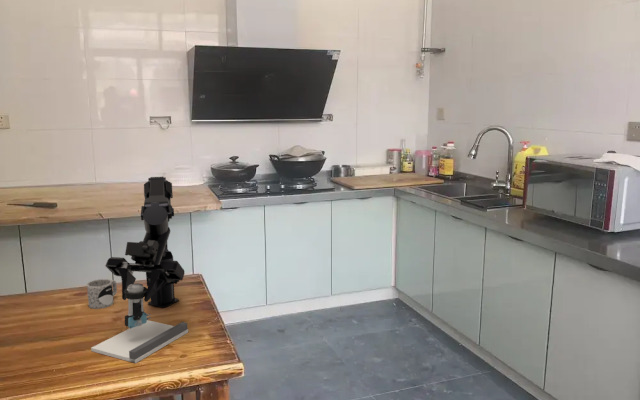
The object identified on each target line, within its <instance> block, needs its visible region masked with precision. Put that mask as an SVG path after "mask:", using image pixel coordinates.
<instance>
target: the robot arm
mask: <svg viewBox="0 0 640 400" xmlns="http://www.w3.org/2000/svg"><path fill="white" fill-rule="evenodd" d="M143 195H144V201H143V202H144V203H143V205H141V207H140V209H141V210H140V220H141V221H143V225H144V229H145V234H144V237H143V240H141V241H139V242H133V241H127V243H126V247H125V251H124V253H125V254H124V255H125V256H130V257H131V258H130V259H131V260H132V261H133V262H134V263H133V262H128V261H127V259H126V258H125V257H119V256H118V257H116V256H114V257H113V256H112V257H109V258H108V259H107V261H106V263H105V265H104V266H105V268H106V269H108V271H110V272H111V273H112V274H113V275H114V276H115V277H120V279H121V299H122V300H123V301H126V300H127V298H126V297H125V294H124V290H125V289H126V288H128V286H129V285H131V284H135V282H136V280H137V278H136V277H135V276H134V272H139V273H140V272H141V273H142V272H143V273H145V276H146V288H147V291H146V294H145V297H144V298H143V302H145V303H146V302H147V305H149V306H155V307H158V308H162V309H165V308H167V307H169V306H171V305H172V304H175V303H177V302H179V298H177V297H175V296H176V295H175V285H176V284H178V283H179V282H180V281H183V280H184V277H185V270H184V268H183V267H182V265H181V264H180V263H179V262H178V260H174V255H173V253H172V251H170V250H169V249H168V240H169V237H170V234H171V229H170V227H169V222H170V220H171V219H173V217H175V208H174V207H173V206H172V201H171V200H172V199H173V183H172V182H171V181H169V180H167V178H166V177H164V176H151V177H148V181H146V182H145V183H144V184H143ZM149 300H150V301H149Z"/></svg>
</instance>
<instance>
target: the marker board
mask: <svg viewBox="0 0 640 400" xmlns="http://www.w3.org/2000/svg"><path fill="white" fill-rule="evenodd" d="M188 327H189V326H188V322H185V321H181V322H179V323H178V324H176V325H171V324H166V323H162V322H157V321H153V320H150V319H148V320H147V322H146V323H145V324H142V325H141V326H136V327H133V328H128V329H125V330H124V331H122V332H120V333H118V334H116V335H114V336H112V337H110V338H108V339H106V340H103V341H102V342H100V343H98V344H95V345H93V346H92V347H90V349H91V352H93V353H98V354H100V355H105V356H108V357H112V358H115V359H119V360H123V361H126V362H130V363H134V364H137V363H138V362H141V361H142V360H144V359H145V358H147V357H149V356H151V355H152V354H154V353H156V352H157V351H159V350H161V349H162V348H165V346H167V345H169V344H171V343H173V342H174V341H176V340H177V339H180V338H181V337H183V336H184V335H186V334H188V333H189V329H188Z"/></svg>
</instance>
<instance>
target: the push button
mask: <svg viewBox="0 0 640 400" xmlns="http://www.w3.org/2000/svg"><path fill="white" fill-rule="evenodd" d="M147 288H148V287H147V286H144V284H143V283H135V282H134V284H131V285H129V286H128V288H126V289H125V290H124V294H125V297H126V300H127V302H128V307H127V308H128V313H127V314H126V315H125V316H124V326H125V327H127V328H128V329H130V328H133V327H136V326H141V325H142V324H145V323H146V322H147V320H151V319H152V317H151V315H152V314H151V313H147V312H145V309H144V298H145V294H146V291H147Z"/></svg>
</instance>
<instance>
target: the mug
mask: <svg viewBox="0 0 640 400" xmlns="http://www.w3.org/2000/svg"><path fill="white" fill-rule="evenodd" d="M86 287H87V288H86V289H87V300H88V303H87V304H88V307H89V308H90V309H94V310H100V309H105V308H106V309H107V308H109V307H111V306H112V305H113V304H114V296H115V295H117V291H118V288H117V287H118V286H117V281H116V280H115V279H108V278H102V279H101V278H100V279H95V280H91V281H89V282H88V283H87V284H86Z"/></svg>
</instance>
